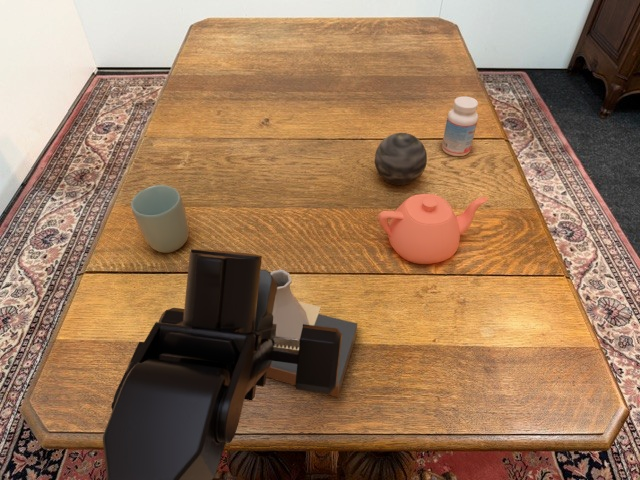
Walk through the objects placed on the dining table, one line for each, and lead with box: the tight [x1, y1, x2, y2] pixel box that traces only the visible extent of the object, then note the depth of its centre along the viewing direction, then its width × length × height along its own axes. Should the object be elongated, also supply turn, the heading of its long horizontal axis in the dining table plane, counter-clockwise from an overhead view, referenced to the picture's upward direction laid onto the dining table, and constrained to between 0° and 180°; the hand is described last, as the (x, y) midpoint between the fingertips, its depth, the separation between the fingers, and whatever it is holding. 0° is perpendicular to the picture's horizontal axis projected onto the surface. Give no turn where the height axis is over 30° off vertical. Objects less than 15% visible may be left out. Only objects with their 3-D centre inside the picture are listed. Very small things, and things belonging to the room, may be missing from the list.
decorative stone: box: [374, 132, 428, 186], centre depth 91 cm, size 10×10×10 cm
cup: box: [130, 184, 190, 254], centre depth 79 cm, size 8×8×10 cm
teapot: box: [377, 193, 489, 265], centre depth 79 cm, size 12×18×10 cm
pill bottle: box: [441, 95, 479, 157], centre depth 98 cm, size 6×6×11 cm
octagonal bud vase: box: [269, 268, 309, 346], centre depth 63 cm, size 7×7×10 cm
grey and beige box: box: [266, 300, 358, 398], centre depth 67 cm, size 11×16×3 cm
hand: (267, 333), depth 56 cm, fingers open, 9 cm apart
